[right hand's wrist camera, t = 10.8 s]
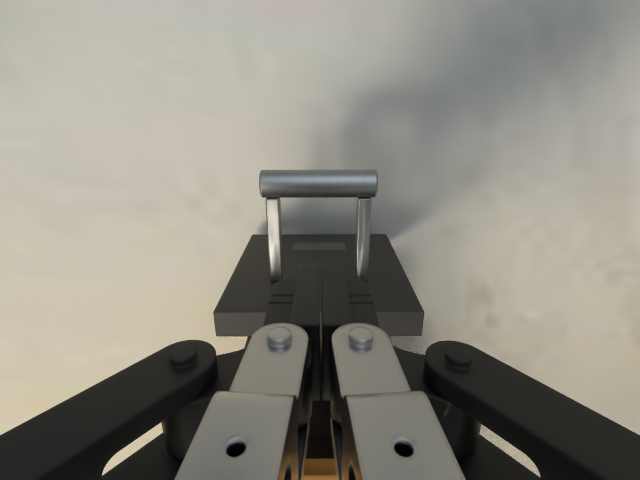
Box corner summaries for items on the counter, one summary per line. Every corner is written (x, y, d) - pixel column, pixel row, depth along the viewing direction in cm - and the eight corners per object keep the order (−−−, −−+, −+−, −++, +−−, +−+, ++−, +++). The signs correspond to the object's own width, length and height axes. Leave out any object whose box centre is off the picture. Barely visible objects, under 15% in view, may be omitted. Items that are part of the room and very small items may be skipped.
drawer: (246, 151, 22) (197, 185, 13) (391, 150, 22) (438, 184, 13) (266, 430, 30) (243, 567, 21) (373, 429, 30) (396, 567, 21)
